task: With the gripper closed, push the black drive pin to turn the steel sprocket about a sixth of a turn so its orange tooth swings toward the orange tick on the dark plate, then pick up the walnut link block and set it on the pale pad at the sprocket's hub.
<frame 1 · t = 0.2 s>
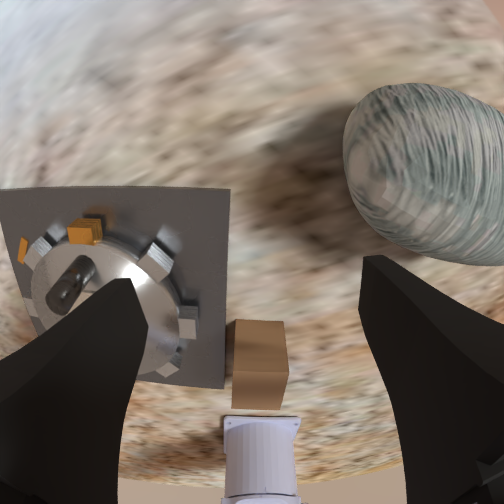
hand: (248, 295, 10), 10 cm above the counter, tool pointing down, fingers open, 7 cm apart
link block: (257, 341, 24), on the counter
grey oval stone: (423, 162, 18), on the counter
sprocket: (92, 331, 19), point 3 cm above the counter, hinge at 0.0°
plate: (109, 300, 22), on the counter
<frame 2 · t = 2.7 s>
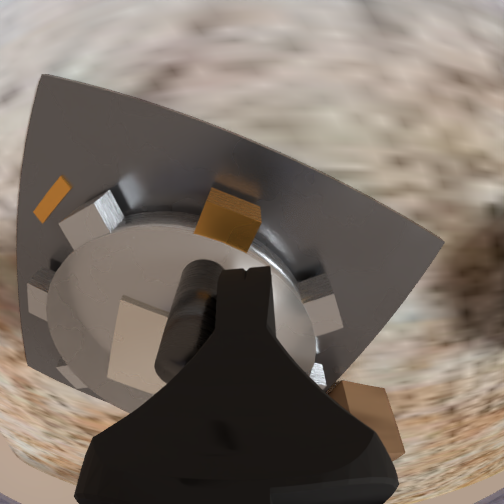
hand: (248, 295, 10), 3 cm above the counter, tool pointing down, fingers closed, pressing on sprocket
link block: (343, 404, 18), on the counter
sprocket: (166, 381, 11), point 3 cm above the counter, hinge at 0.2°, touching gripper
plate: (180, 324, 15), on the counter
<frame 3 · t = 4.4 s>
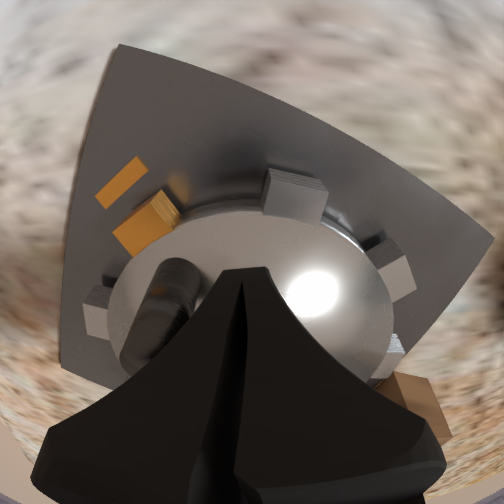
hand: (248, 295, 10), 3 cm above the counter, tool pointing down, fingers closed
link block: (389, 395, 18), on the counter
sprocket: (250, 378, 11), point 4 cm above the counter, hinge at 57.1°
plate: (250, 319, 14), on the counter
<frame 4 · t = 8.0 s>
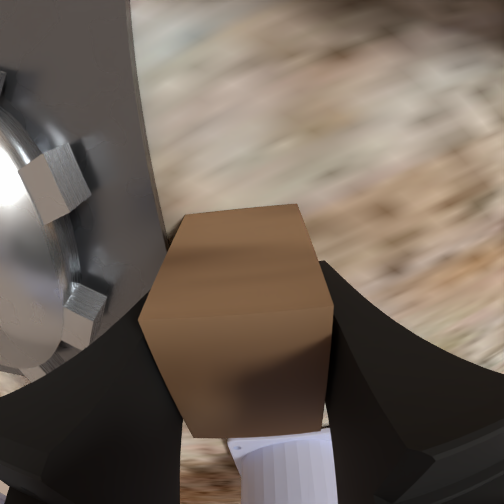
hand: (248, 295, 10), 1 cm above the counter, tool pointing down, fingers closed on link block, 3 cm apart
link block: (248, 270, 11), on the counter, touching gripper
when the fingers open (4 cm above the counter, at t = 10.7 s): link block stays where it is, resting on sprocket.
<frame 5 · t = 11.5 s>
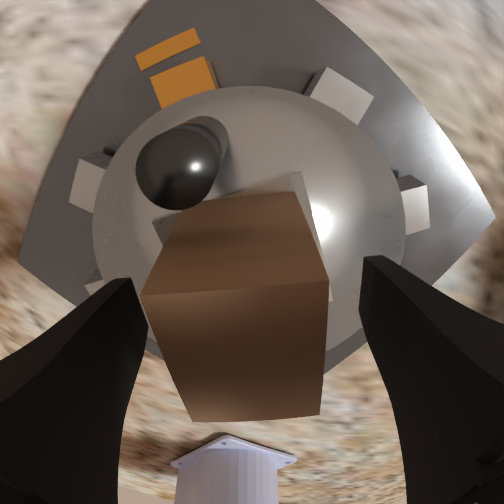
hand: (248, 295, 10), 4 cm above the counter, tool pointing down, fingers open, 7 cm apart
link block: (247, 258, 11), point 3 cm above the counter, touching sprocket
sprocket: (248, 278, 10), point 3 cm above the counter, hinge at 57.1°, touching link block
plate: (248, 232, 13), on the counter
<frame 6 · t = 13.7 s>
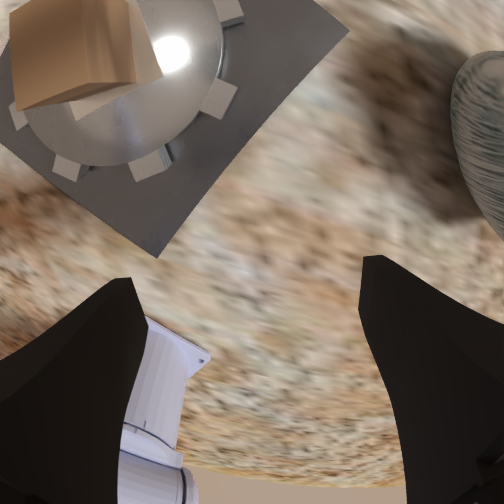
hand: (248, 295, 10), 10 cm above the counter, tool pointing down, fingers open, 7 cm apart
link block: (100, 50, 12), point 3 cm above the counter, touching sprocket
grey oval stone: (487, 143, 16), on the counter
sprocket: (92, 54, 11), point 3 cm above the counter, hinge at 57.1°, touching link block
plate: (120, 58, 14), on the counter
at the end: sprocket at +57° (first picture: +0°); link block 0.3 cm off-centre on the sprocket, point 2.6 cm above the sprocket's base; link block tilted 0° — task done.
